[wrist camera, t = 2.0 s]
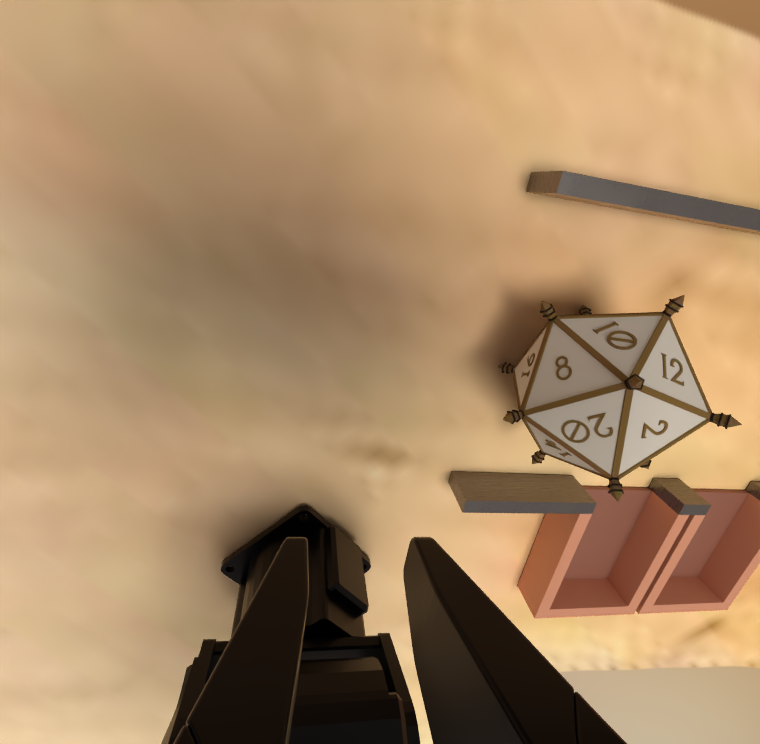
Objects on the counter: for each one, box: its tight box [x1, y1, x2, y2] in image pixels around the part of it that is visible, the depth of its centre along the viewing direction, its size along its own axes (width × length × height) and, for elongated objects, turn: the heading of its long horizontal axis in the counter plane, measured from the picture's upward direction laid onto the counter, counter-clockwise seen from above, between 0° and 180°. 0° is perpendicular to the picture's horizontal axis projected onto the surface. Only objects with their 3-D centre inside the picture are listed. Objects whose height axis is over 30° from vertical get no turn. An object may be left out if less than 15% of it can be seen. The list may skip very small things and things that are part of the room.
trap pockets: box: [518, 486, 760, 618], centre depth 28 cm, size 16×9×2 cm, turn 81°
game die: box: [498, 295, 742, 502], centre depth 19 cm, size 9×8×10 cm
